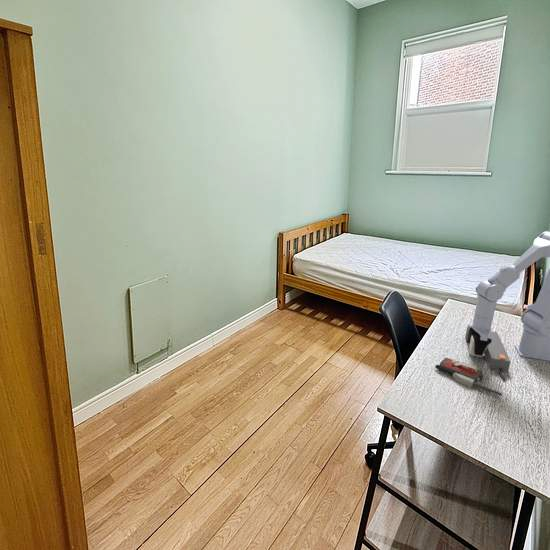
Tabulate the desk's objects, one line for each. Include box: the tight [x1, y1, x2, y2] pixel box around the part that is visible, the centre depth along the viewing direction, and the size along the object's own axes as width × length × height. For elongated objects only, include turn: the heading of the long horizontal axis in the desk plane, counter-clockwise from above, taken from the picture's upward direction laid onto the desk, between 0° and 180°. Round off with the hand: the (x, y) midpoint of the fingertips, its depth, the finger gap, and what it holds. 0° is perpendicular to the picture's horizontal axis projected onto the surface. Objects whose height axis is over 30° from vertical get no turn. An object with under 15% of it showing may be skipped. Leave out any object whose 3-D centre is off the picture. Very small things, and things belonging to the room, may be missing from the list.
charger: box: [468, 335, 488, 358], centre depth 127 cm, size 7×4×6 cm, turn 69°
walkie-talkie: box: [434, 357, 503, 397], centre depth 114 cm, size 9×4×20 cm
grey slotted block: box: [464, 325, 511, 381], centre depth 126 cm, size 10×28×6 cm, turn 159°
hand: (476, 349), depth 128 cm, fingers open, 7 cm apart
